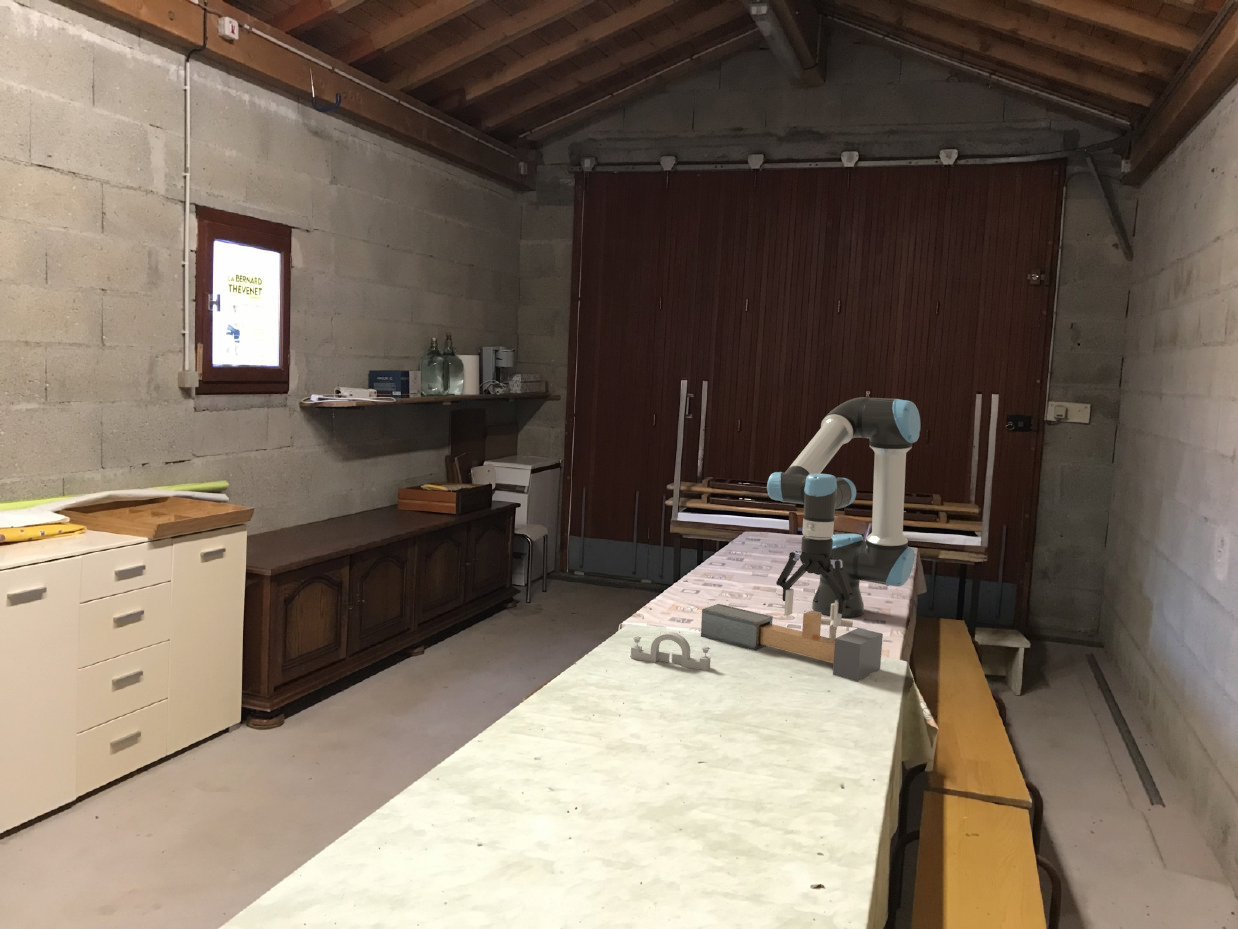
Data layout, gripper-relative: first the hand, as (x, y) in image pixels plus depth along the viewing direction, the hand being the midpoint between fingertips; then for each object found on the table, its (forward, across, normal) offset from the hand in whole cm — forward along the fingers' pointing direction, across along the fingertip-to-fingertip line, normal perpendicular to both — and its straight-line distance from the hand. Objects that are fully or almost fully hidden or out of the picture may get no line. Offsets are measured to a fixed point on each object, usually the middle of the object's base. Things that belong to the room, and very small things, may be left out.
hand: (812, 620), depth 238 cm
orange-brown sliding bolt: (+9, -2, 0) cm, 9 cm away
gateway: (+11, -24, -27) cm, 37 cm away
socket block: (+10, +13, 0) cm, 16 cm away
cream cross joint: (+10, -4, +19) cm, 22 cm away
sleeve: (+10, -22, 0) cm, 24 cm away
